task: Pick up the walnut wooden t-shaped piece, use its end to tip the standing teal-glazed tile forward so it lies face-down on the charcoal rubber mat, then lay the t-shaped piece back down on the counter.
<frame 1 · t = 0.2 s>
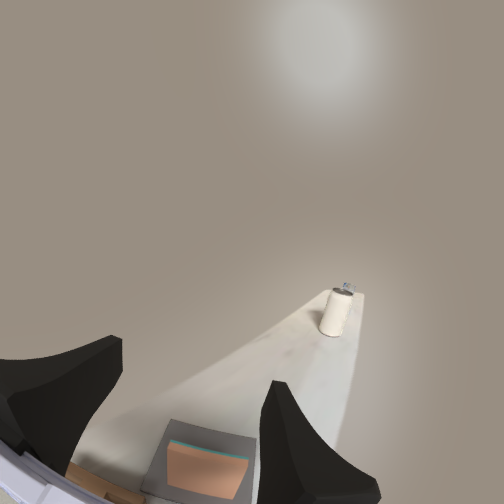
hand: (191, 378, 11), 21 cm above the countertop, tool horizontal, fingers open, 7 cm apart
tile: (200, 489, 19), resting on mat
mat: (204, 466, 23), on the countertop
can: (329, 332, 69), on the countertop
medicine box: (342, 309, 90), on the countertop
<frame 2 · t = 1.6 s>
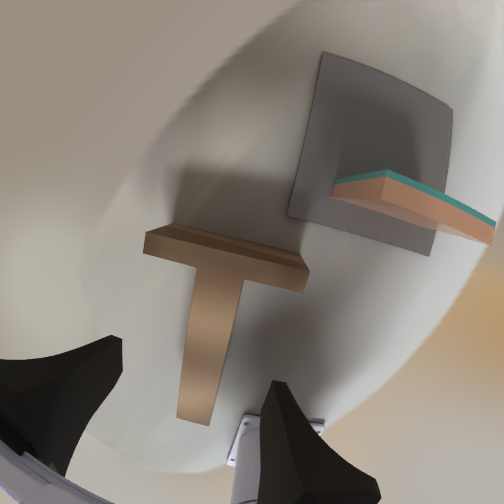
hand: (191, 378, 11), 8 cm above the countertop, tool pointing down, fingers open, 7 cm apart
tile: (379, 203, 17), resting on mat
wooden t-shaped piece: (214, 330, 20), on the countertop
mat: (383, 152, 16), on the countertop
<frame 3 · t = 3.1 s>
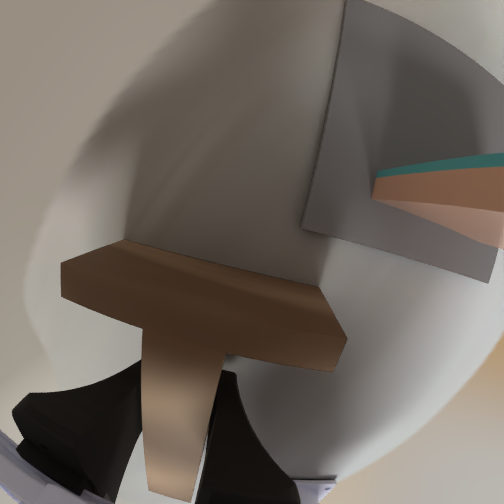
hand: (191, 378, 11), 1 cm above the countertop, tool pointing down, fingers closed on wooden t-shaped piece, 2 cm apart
tile: (437, 209, 10), resting on mat
wooden t-shaped piece: (193, 389, 13), on the countertop, touching gripper
mat: (439, 134, 10), on the countertop
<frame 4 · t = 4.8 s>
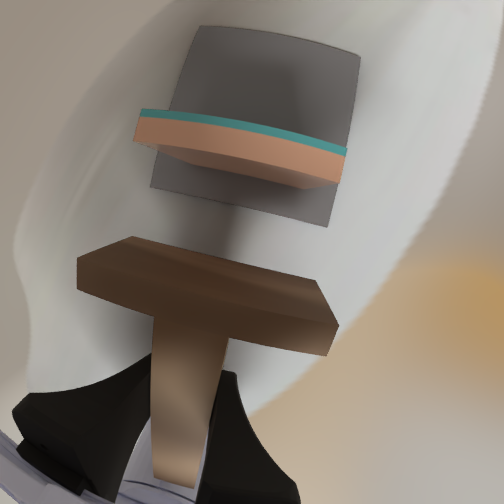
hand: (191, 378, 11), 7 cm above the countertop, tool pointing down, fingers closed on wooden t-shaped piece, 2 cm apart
tile: (249, 166, 16), resting on mat
wooden t-shaped piece: (197, 377, 14), point 5 cm above the countertop, touching gripper
mat: (259, 111, 15), on the countertop
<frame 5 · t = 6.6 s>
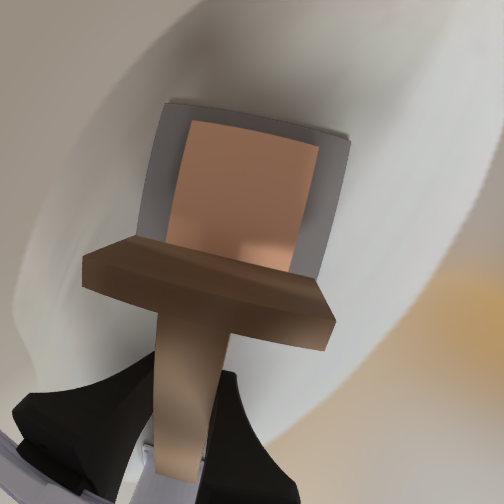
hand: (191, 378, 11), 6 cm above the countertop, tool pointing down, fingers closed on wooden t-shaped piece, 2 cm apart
tile: (223, 271, 16), point 1 cm above the countertop, tilted 90°, touching mat
wooden t-shaped piece: (198, 374, 14), point 4 cm above the countertop, touching gripper
mat: (232, 218, 16), on the countertop
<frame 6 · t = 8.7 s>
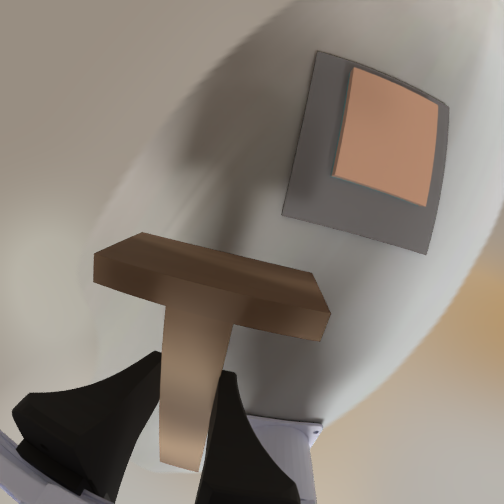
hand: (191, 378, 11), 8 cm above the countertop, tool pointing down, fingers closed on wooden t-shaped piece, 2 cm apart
tile: (380, 191, 16), point 1 cm above the countertop, tilted 90°, touching mat
wooden t-shaped piece: (202, 364, 15), point 5 cm above the countertop, touching gripper
mat: (379, 150, 16), on the countertop
when the fingers open (2 cm above the countertop, at t = 10.1 s): wooden t-shaped piece stays where it is, on the countertop.
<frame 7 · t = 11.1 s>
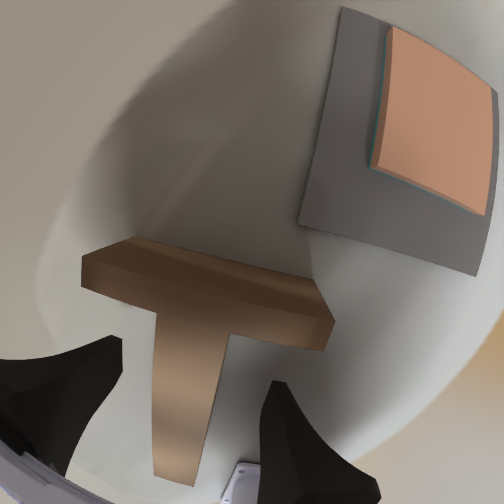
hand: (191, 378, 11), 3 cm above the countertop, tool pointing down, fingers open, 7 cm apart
tile: (433, 192, 10), point 1 cm above the countertop, tilted 90°, touching mat
wooden t-shaped piece: (197, 376, 14), on the countertop
mat: (426, 137, 11), on the countertop
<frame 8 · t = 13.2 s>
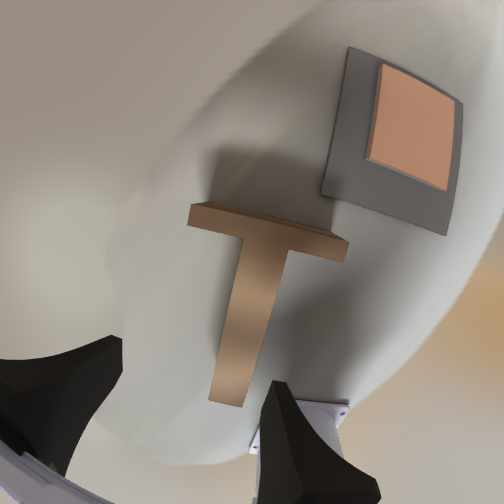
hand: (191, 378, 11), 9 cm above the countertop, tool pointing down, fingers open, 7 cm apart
tile: (407, 174, 17), point 1 cm above the countertop, tilted 90°, touching mat
wooden t-shaped piece: (246, 309, 20), on the countertop
mat: (404, 139, 17), on the countertop
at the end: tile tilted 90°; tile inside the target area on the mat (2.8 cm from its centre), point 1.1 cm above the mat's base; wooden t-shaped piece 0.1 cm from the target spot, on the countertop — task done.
